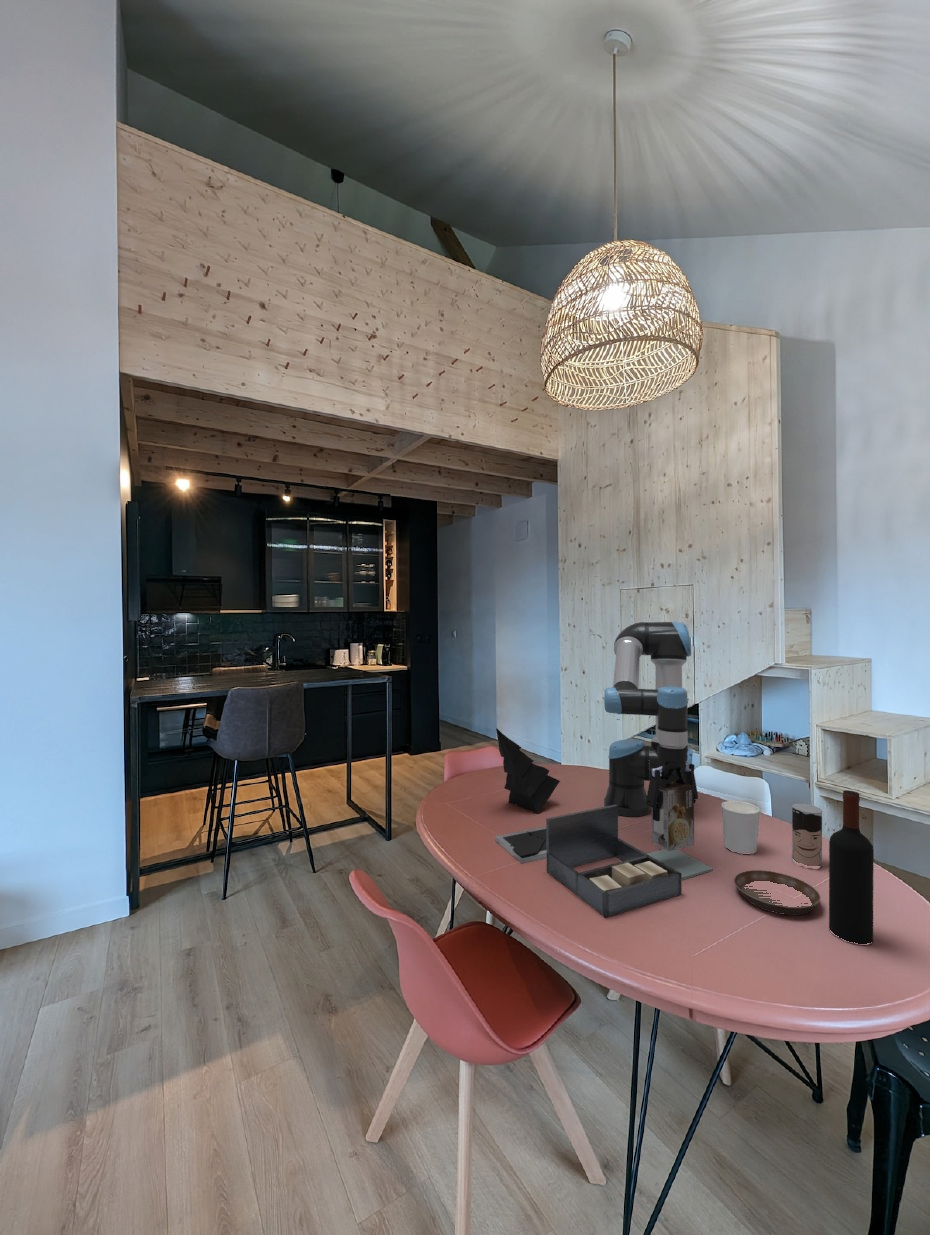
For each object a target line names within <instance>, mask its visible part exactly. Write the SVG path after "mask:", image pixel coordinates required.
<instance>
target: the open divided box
mask: <svg viewBox="0 0 930 1235" xmlns="http://www.w3.org/2000/svg"><path fill="white" fill-rule="evenodd" d="M545 820H546V821H545V822H546V824H545V826H546V836H547V858H546V872H547V873H548V874H549V875H551V876H552V878H554V879H555V880H557V881H558V882H560V883H561V884H562V885H563V886H564V887H566V888H567V889H568V890H569V891H571V892H572V893H574V895H575V896H577V897H578V898H580V899H581V900H582V901H583V902H584V903H586V904H588V905H589V906H590V907H591V908H593V909H594V910H595V911H596V912H598V913H599V914H600V915H601V916H603V917H604V918H605V919H606V918H609V917H613V916H616V915H619V914H621V913H624V912H628V911H632V910H635V909H638V908H641V907H645V906H648V905H651V904H654V903H657V902H660V901H664V900H667V899H670V898H673V897H677V896H680V895H682V891H683V890H682V889H683V888H682V886H683V885H682V884H683V883H682V874H681V873H680V872H678V871H676V870H674V869H673V868H671V867H669V866H667V865H665V864H664V863H662V862H660V861H658V860H657V859H655V858H653V857H651V856H649V855H648V854H647V853H646V852H644V851H642V850H641V849H639V848H637V847H635V846H633V845H632V844H631V843H628V842H627V841H624V840H622V839H621V838H619V815H618V805H611V806H606V807H604V806H603V807H597V808H592V809H587V810H582V811H578V812H571V813H567V814H561V815H557V816H551V817H548V818H547V817H546V819H545ZM614 857H615V858H617V859H619V860H621V861H620V862H614V863H611V864H607V865H603V866H599V867H596V868H592V869H589V870H583V871H580V872H579V871H577V870H576V869H574V867H578V866H582V865H586V864H590V863H594V862H598V861H602V860H607V859H611V858H614ZM647 861H650V862H652V863H654V864H655V865H657V866H659V867H661V868H662V869H664V870H666V871H667V875H665V876H662V877H658V878H655V879H651V880H647V881H644V882H640V883H637V884H633V885H630V886H626V887H623V888H619V889H616V890H612V891H609V892H605V891H603V890H602V889H601V888H599V887H598V886H597V885H595V884H594V883H592V882H591V881H590V880H589V878H594V877H600V876H605V875H608V876H609V877H610V878H611V879H612V867H613V866H616V865H620V864H624V863H630V864H631V865H633V866H634V865H636V864H640V863H644V862H647Z"/></svg>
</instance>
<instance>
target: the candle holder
mask: <svg viewBox="0 0 930 1235" xmlns="http://www.w3.org/2000/svg"><path fill="white" fill-rule="evenodd" d="M760 812H761V809H760V808H759V807H758V806H757V805H755V804H752V803H749V802H745V801H740V800H739V801H738V800H728V801H722V803H721V817H722V818H721V819H722V834H723V835H722V836H723V845H724V847H726V848H728V849H730V850H731V851H734V852H737V853H753V852H755V851H756V850H757V851H758V838H759V825H760ZM726 848H725V849H726ZM728 849H727V850H728ZM731 851H730V852H731ZM757 851H756V852H757ZM734 852H733V853H734ZM737 853H736V854H737Z"/></svg>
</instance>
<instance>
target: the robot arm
mask: <svg viewBox="0 0 930 1235" xmlns="http://www.w3.org/2000/svg"><path fill="white" fill-rule="evenodd" d="M689 632H690V631H689V629H688V626H687V624H685V623H683V622H677V621H655V622H654V621H652V622H650V621H648V622H645V621H640V622H635V623H633V624H630V625H629V626H627V627H625V628H624V629H622V630H621V631H620V632H619V634H618V635H617V636H616V638H615V641H614V643H613V653H614V655H615V663H614V671H613V672H614V673H613V683H612V687H606V688H605V689H604V696H603V698H604V699H603V701H604V702H603V703H604V704H603V705H604V711H605V712H606V713H609V714H617V715H634V716H636V715H638V716H652V717H653V716H654V717H655V735H654V737H653V738H651V740H650V745H646V744H645V742H644V741H643V740H641V739H636V738H629V739H628V738H626V739H620V740H617V741H613V742H612V743H611V744H610V745H609V749H608V751H609V752H608V756H607V757H608V770H609V771H608V772H609V773H608V774H609V775H608V787H607V791H606V794H605V797H604V800H603V807H606V806H611V805H618V816H622V817H631V818H632V817H635V818H636V817H642V816H643V817H644V816H647V815H648V814H649V813H650V812H651V819H652V818H653V820H654V831H656V832H658V833H660V834H664V809H662V808H661V807H662V804H663V792H661V791H659V786H660V787H663V788H668V787H669V785H671V783H672V781H675V780H676V782H678V783H681V784H690V785H693V786H694V787H693V789H694V804H695V803H696V802H697V801H696V800H698V799H699V794H698V793H699V792H698V788H697V782H696V777H695V764H693V749H692V748H691V747H688V746H689V744H688V741H689V740H688V739H689V736H688V734H689V733H688V704H689V699H688V690H686V688H684V687H683V666H684V664H685V663H687V658H689V657H691V656H692V648H691V646H692V644H691V639H690V634H689ZM641 656H650V662H651V663H653V664H654V666H655V675H654V676H655V689H653V688H651V689H648V688H639V686H640V658H641ZM645 781H647V782H649V783H648V789H647V792H646V789H645V788H646V787H645ZM657 803H658V804H657ZM652 815H653V816H652Z"/></svg>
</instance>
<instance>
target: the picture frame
mask: <svg viewBox="0 0 930 1235" xmlns="http://www.w3.org/2000/svg"><path fill="white" fill-rule="evenodd" d="M495 842H496V843H497V842H498V843H497V844H498V845H499V846H501V847H502V849H504V850H505V851H506V852H508V854H510V855H511V856H512V857H513V858H515V859H516V860H517V861H518V862H519V863H521V864H525V863H531V862H534V861H539V860H543V859H547V836H546V825H545V826H541V827H535V828H531V829H526V830H521V831H516V832H511V833H505V834H500V835H495Z"/></svg>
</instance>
